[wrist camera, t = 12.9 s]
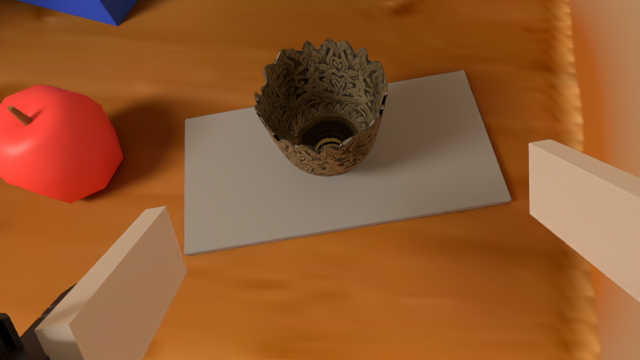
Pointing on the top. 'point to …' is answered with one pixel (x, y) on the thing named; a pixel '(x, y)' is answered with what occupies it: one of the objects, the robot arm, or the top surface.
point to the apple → (56, 143)
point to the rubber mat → (345, 189)
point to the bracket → (90, 8)
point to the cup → (323, 106)
